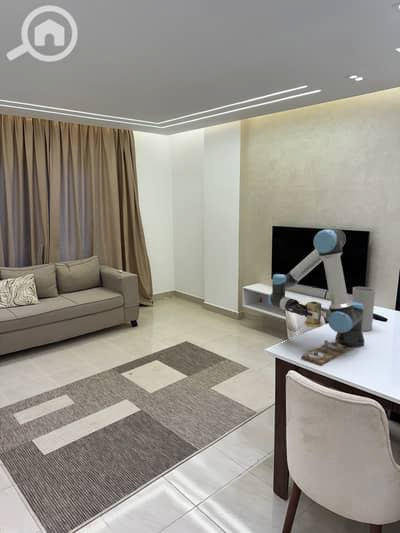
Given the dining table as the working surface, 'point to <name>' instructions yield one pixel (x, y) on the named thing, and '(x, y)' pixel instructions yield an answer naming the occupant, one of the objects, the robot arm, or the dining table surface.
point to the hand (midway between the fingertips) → (321, 315)
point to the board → (325, 353)
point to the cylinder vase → (365, 304)
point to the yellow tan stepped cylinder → (317, 309)
